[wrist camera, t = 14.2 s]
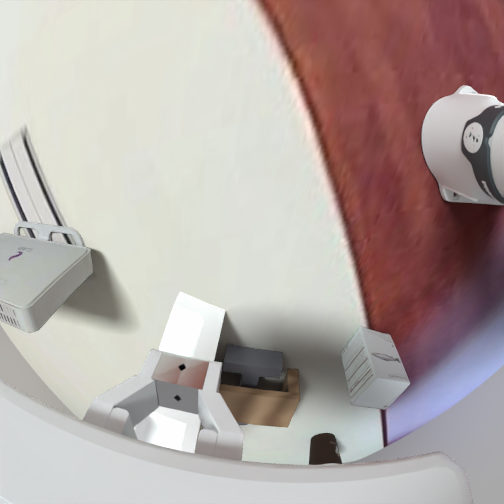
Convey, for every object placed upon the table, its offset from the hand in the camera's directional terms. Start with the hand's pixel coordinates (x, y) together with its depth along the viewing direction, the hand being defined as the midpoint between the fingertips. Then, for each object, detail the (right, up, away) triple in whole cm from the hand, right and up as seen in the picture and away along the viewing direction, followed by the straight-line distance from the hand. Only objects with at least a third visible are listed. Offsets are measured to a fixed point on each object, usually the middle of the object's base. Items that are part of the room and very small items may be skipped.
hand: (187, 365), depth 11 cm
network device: (-36, +6, +34) cm, 50 cm away
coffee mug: (+21, -46, +54) cm, 74 cm away
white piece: (-12, -18, +44) cm, 49 cm away
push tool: (+2, -21, +44) cm, 49 cm away
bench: (+2, -21, +44) cm, 49 cm away
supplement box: (+23, -12, +39) cm, 47 cm away
